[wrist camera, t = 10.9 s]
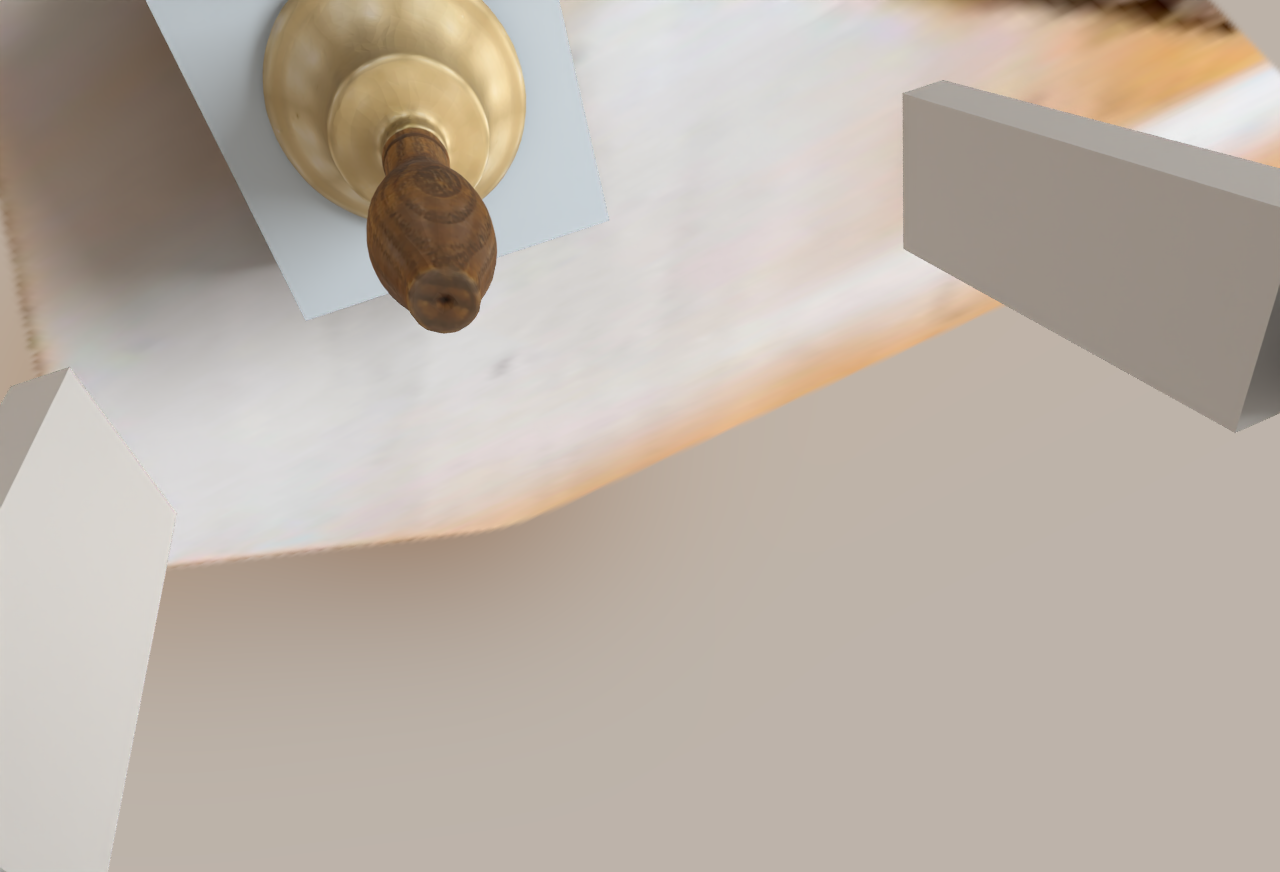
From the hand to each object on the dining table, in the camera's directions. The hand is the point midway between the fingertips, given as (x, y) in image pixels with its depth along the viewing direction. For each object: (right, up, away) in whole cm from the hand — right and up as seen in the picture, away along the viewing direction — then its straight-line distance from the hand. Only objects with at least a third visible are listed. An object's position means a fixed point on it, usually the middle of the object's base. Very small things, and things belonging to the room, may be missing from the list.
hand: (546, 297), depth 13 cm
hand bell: (-6, +9, +14) cm, 18 cm away
